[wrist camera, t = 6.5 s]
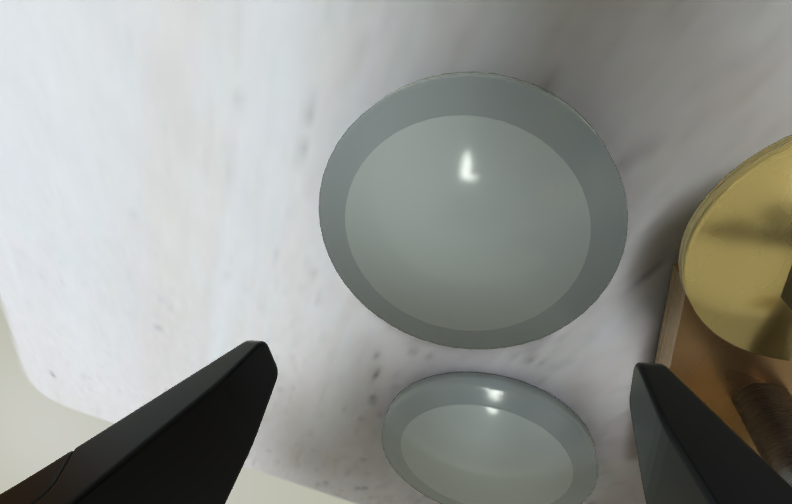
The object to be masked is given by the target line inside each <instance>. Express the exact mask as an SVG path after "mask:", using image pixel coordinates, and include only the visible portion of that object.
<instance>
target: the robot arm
mask: <svg viewBox="0 0 792 504" xmlns="http://www.w3.org/2000/svg"><path fill="white" fill-rule="evenodd" d="M277 375H278V370H277V366H276V363H275V361H274V359H273V356H272V354H271V352H270V349H269V347H268V345H267V344H266V343H265V342H263V341H251V340H250V341H246V342H244V343H242V344H241V345H239V346H237V347H236V348H234V349H233V350H231V351H229V352H228V353H226V354H225V355H223V356H222V357H220V358H218V359H217V360H215V361H214V362H212V363H210V364H209V365H207V366H206V367H204V368H202V369H201V370H199V371H198V372H196V373H195V374H193V375H191V376H190V377H188V378H187V379H185V380H183V381H182V382H180V383H179V384H177V385H175V386H174V387H172V388H171V389H169V390H167V391H166V392H164V393H163V394H161V395H160V396H158V397H156V398H155V399H153V400H152V401H150V402H148V403H147V404H145V405H144V406H142V407H140V408H139V409H137V410H136V411H134V412H133V413H131V414H129V415H128V416H126V417H125V418H123V419H121V420H120V421H118V422H117V423H115V424H113V425H112V426H110V427H109V428H107V429H106V430H104V431H102V432H101V433H99V434H98V435H96V436H94V437H93V438H91V439H90V440H88V441H87V442H85V443H84V444H82V445H80V446H79V447H77V448H76V449H75V450H74V451H71V452H69V453H67V454H66V455H64V456H62V457H61V458H59V459H58V460H56V461H55V462H53V463H51V464H50V465H48V466H47V467H45V468H43V469H42V470H40V471H39V472H37V473H35V474H34V475H32V476H30V477H29V478H27V479H26V480H24V481H22V482H20V483H19V484H17V485H16V486H14V487H12V488H11V489H9V490H7V491H5V492H4V493H2V494H0V504H225V503H226V500H227V498H228V496H229V494H230V492H231V490H232V488H233V486H234V484H235V481H236V479H237V477H238V475H239V473H240V471H241V469H242V467H243V465H244V462H245V460H246V458H247V456H248V454H249V452H250V449H251V447H252V445H253V442H254V440H255V437H256V435H257V432H258V429H259V427H260V424H261V421H262V418H263V416H264V413H265V410H266V407H267V405H268V402H269V399H270V396H271V394H272V391H273V388H274V385H275V382H276V380H277ZM630 411H631V417H632V423H633V429H634V435H635V441H636V447H637V453H638V460H639V466H640V472H641V478H642V484H643V489H644V495H645V500H646V504H792V486H791V485H789V484H788V483H787V482H786V481H785V480H784V479H783V478H782V477H781V476H780V475H779V474H778V473H777V472H776V471H775V470H774V469H773V468H772V467H771V466H770V465H769V464H768V463H767V462H766V461H765V460H763V459H762V458H761V457H760V456H759V455H758V454H757V453H756V452H755V451H754V450H753V449H752V448H751V447H750V446H749V445H748V444H747V443H746V442H745V441H744V440H743V439H742V438H741V437H740V436H739V435H737V434H736V433H735V432H734V431H733V430H732V429H731V428H730V427H729V426H728V425H727V424H726V423H725V422H724V421H723V420H722V419H721V418H720V417H719V416H718V415H717V414H716V413H715V412H714V411H713V410H711V409H710V408H709V407H708V406H707V405H706V404H705V403H704V402H703V401H702V400H701V399H700V398H699V397H698V396H697V395H696V394H695V393H694V392H693V391H692V390H691V389H690V388H689V387H688V386H687V385H685V384H684V383H683V382H682V381H681V380H680V379H679V378H678V377H677V376H676V375H675V374H674V373H673V372H672V371H671V370H670V369H669V368H668V367H667V366H665V365H663V364H659V363H637V364H636V365H635V367H634V372H633V378H632V385H631V391H630Z"/></svg>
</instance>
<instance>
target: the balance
mask: <svg viewBox="0 0 792 504" xmlns="http://www.w3.org/2000/svg"><path fill="white" fill-rule="evenodd" d="M655 363H659V364H663V365H665V366H667V367H668V368H669V369H670V370H671V371H672V372H673V373H674V374H675V375H676V376H677V377H678V378H679V379H680V380H681V381H682V382H683V383H684V384H685V385H687V386H688V387H689V388H690V389H691V390H692V391H693V392H694V393H695V394H696V395H697V396H698V397H699V398H700V399H701V400H702V401H703V402H704V403H705V404H706V405H707V406H708V407H709V408H710V409H711V410H713V411H714V412H715V413H716V414H717V415H718V416H719V417H720V418H721V419H722V420H723V421H724V422H725V423H726V424H727V425H728V426H729V427H730V428H731V429H732V430H733V431H734V432H735V433H736V434H737V435H739V436H740V437H741V438H742V439H743V440H744V441H745V442H746V443H747V444H748V445H749V446H750V447H751V448H752V449H753V450H754V451H755V452H756V453H757V454H758V455H759V456H760V457H761V458H762V459H763V460H765V461H766V462H767V463H768V464H769V465H770V466H771V467H772V468H773V469H774V470H775V471H776V472H777V473H778V474H779V475H780V476H781V477H782V478H783V479H784V480H785V481H786V482H787V483H788V484H789V485H791V486H792V135H790V136H787V137H785V138H783V139H781V140H780V141H778V142H776V143H774V144H772V145H770V146H768V147H766V148H765V149H763V150H761V151H760V152H758V153H757V154H755V155H754V156H752V157H751V158H749V159H747V160H746V161H744V162H743V163H742V164H740V165H739V166H738V167H737V168H735V169H734V170H733V171H732V172H730V173H729V174H728V175H727V176H725V177H724V178H723V179H722V180H721V181H720V182H719V183H718V184H717V185H716V186H715V187H714V188H713V189H712V190H711V191H710V193H709V194H708V195H707V196H706V197H705V199H704V200H703V201H702V202H701V203H700V205H699V206H698V208H697V209H696V211H695V213H694V214H693V216H692V217H691V219H690V221H689V223H688V225H687V227H686V229H685V232H684V234H683V237H682V241H681V244H680V248H679V257H678V264H673V270H672V275H671V280H670V285H669V290H668V296H667V301H666V306H665V311H664V317H663V322H662V327H661V332H660V337H659V343H658V348H657V353H656V358H655Z"/></svg>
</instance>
